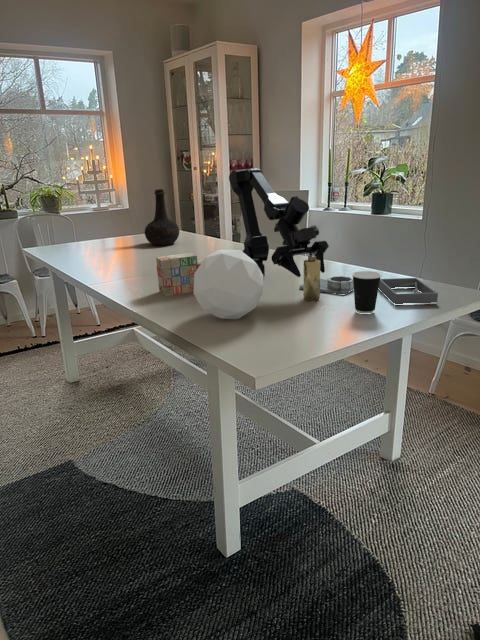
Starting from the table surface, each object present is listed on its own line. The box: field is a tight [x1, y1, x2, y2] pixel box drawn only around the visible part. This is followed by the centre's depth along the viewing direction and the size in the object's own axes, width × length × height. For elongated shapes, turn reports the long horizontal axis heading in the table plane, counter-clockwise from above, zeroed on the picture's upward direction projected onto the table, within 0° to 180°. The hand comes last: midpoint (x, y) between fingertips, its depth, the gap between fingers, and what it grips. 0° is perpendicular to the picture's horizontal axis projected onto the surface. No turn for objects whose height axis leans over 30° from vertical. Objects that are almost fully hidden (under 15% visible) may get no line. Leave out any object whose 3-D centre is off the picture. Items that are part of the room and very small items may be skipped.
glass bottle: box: [144, 188, 180, 246], centre depth 249 cm, size 18×18×28 cm
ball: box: [193, 249, 264, 320], centre depth 133 cm, size 19×20×20 cm
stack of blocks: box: [155, 252, 204, 297], centre depth 164 cm, size 21×6×12 cm, turn 115°
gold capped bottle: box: [302, 255, 321, 302], centre depth 148 cm, size 5×5×14 cm
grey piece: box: [299, 275, 354, 295], centre depth 161 cm, size 16×12×4 cm
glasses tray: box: [379, 277, 439, 304], centre depth 148 cm, size 12×18×4 cm
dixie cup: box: [351, 270, 383, 313], centre depth 134 cm, size 8×8×11 cm
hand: (312, 274), depth 147 cm, fingers open, 9 cm apart
